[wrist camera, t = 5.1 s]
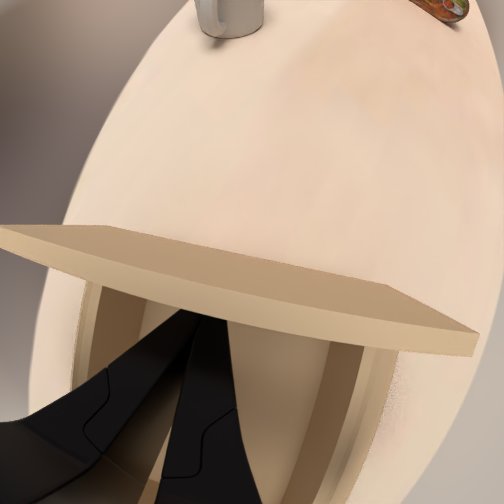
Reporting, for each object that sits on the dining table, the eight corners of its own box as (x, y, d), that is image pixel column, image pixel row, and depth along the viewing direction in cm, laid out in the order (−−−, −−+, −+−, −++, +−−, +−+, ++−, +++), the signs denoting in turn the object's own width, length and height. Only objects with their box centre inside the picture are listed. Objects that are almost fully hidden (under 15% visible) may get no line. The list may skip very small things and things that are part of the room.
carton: (316, 540, 15) (329, 590, 8) (78, 478, 17) (37, 510, 10) (397, 312, 19) (454, 311, 12) (104, 248, 21) (48, 224, 14)
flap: (386, 284, 12) (383, 297, 12) (106, 225, 13) (105, 237, 13) (480, 333, 5) (471, 356, 5) (-5, 224, 6) (-7, 244, 6)
